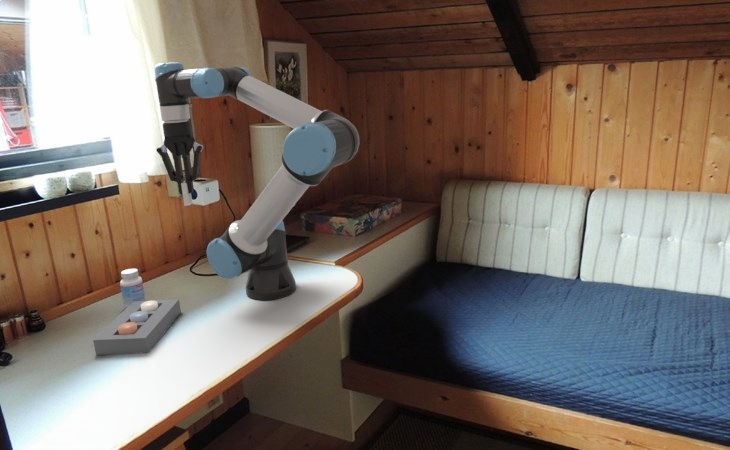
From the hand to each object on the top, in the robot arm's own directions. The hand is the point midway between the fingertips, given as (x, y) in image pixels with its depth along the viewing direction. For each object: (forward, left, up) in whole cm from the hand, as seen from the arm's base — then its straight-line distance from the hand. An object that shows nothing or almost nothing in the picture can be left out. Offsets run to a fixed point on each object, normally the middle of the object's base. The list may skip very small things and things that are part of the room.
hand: (188, 204), depth 164 cm
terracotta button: (+10, +27, -28) cm, 41 cm away
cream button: (+10, +13, -28) cm, 33 cm away
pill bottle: (+19, +3, -30) cm, 35 cm away
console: (+10, +21, -29) cm, 37 cm away
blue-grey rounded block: (+10, +21, -28) cm, 36 cm away
